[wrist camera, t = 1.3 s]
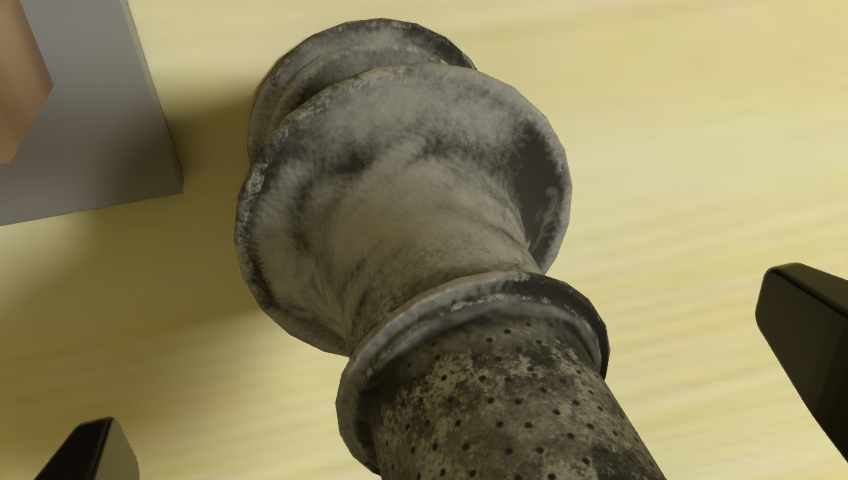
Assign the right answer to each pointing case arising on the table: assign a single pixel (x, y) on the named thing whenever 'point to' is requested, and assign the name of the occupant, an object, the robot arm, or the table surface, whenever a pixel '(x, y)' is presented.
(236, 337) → the table surface
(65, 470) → the robot arm
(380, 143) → the salt shaker
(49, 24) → the socket
